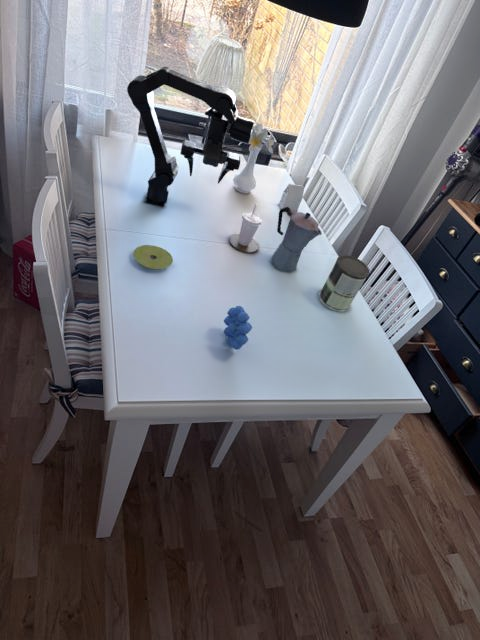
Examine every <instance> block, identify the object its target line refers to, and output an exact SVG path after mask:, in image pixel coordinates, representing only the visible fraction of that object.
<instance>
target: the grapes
mask: <svg viewBox="0 0 480 640" xmlns="http://www.w3.org/2000/svg"><path fill="white" fill-rule="evenodd" d="M226 313H227V316H226V317H225V318H224V319H223V323H224V324H225V325H226V327H225V328H224V330H223V331H222V333H223V334H224V335H225V337H226V340H225V342H226V344H227V345H228V346H229V347H232V348H233V349H234V350H240V349H241V348H242V347H243V346H244V345H246V344H247V342H248V341H249V338H248V336H247V335H248V334H249V333H250V332H251V331H252V330H253V325H252V323H250V322H248V321H249V320H250V317H251V316H250V315H249V314H248V313H247V312H246V311H245V309H244V307H243V306H241V305H237V306H235V307H234V306H233V307H230V308H229V309H228V310H227V312H226Z"/></svg>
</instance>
